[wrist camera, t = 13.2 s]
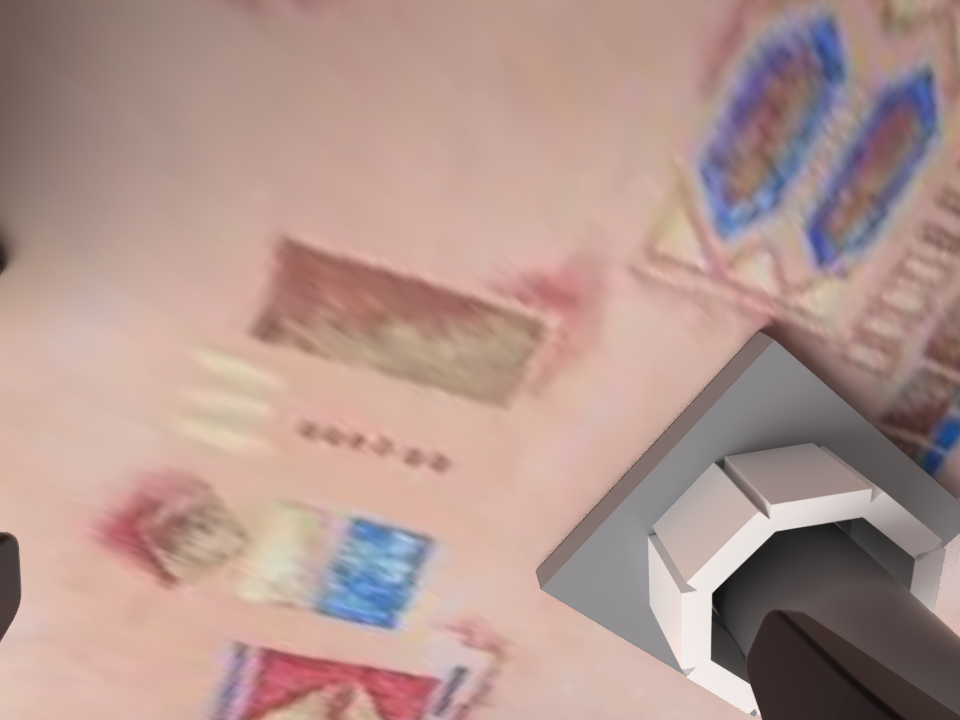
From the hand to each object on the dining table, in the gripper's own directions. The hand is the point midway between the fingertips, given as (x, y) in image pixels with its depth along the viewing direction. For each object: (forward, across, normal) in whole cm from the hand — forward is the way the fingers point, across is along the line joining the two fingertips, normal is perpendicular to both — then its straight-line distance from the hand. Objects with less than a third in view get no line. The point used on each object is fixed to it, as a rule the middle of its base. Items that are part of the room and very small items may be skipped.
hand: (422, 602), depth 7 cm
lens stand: (+13, -14, +7) cm, 20 cm away
